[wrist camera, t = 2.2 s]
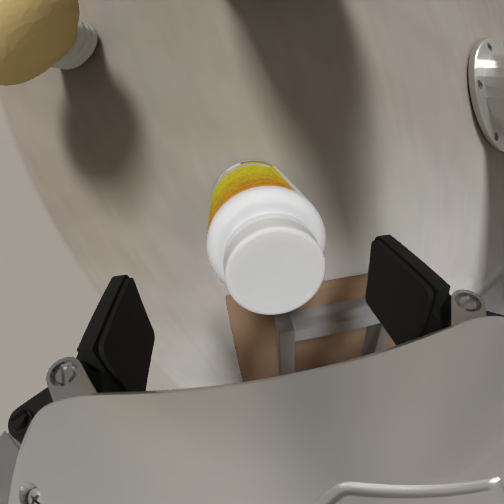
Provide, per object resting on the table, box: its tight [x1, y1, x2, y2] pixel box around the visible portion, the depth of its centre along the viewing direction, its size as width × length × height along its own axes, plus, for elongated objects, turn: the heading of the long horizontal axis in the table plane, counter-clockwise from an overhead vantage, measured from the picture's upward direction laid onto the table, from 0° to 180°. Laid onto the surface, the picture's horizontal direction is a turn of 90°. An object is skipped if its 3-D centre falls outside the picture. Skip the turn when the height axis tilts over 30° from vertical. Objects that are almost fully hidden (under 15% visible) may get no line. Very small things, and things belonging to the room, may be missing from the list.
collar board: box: [226, 274, 396, 382], centre depth 25 cm, size 18×14×4 cm
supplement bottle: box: [207, 161, 326, 315], centre depth 15 cm, size 6×6×10 cm
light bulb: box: [0, 0, 97, 85], centre depth 8 cm, size 6×6×10 cm
